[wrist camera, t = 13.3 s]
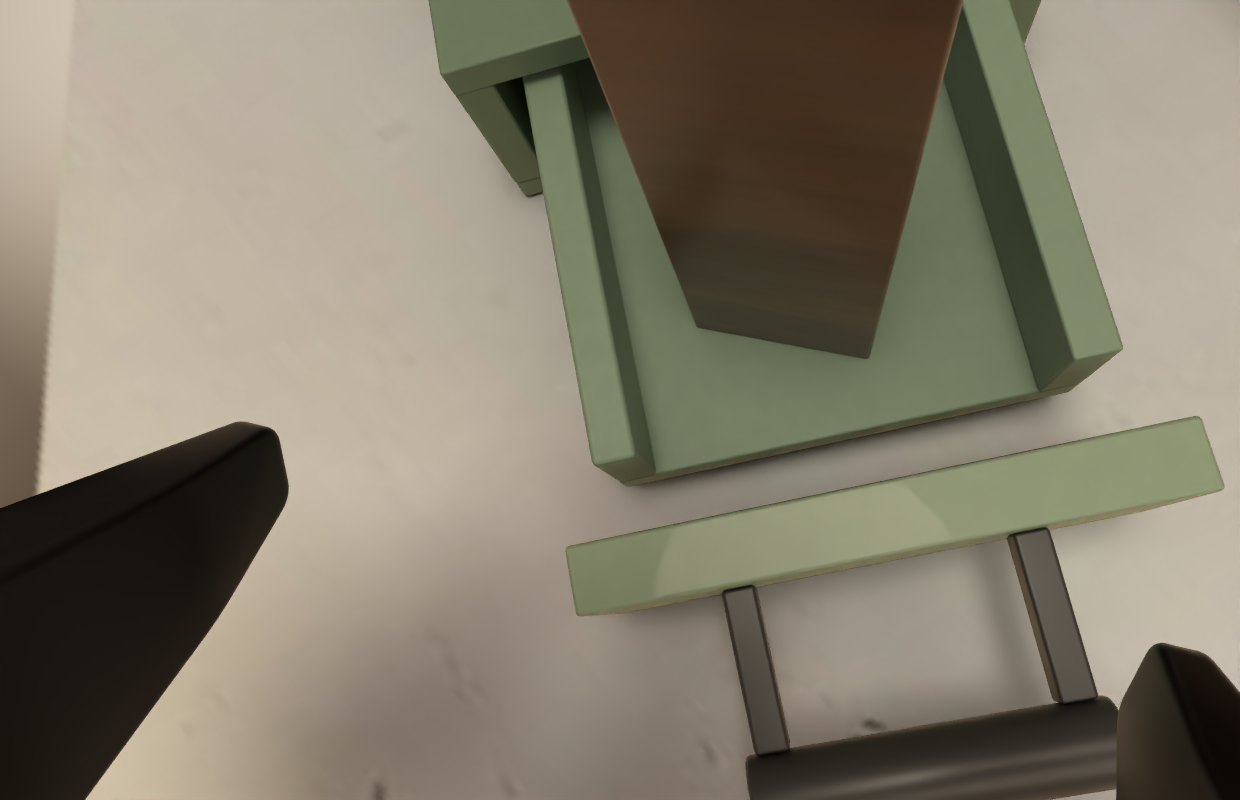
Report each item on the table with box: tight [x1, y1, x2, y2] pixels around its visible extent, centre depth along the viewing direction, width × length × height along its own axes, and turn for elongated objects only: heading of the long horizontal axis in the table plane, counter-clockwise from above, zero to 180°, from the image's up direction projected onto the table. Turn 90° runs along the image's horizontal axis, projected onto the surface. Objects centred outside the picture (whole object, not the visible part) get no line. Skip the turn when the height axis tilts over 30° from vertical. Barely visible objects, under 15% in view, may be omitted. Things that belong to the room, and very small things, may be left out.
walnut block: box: [567, 0, 964, 359], centre depth 13 cm, size 4×4×12 cm
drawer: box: [522, 0, 1224, 800], centre depth 19 cm, size 22×10×4 cm, turn 11°
